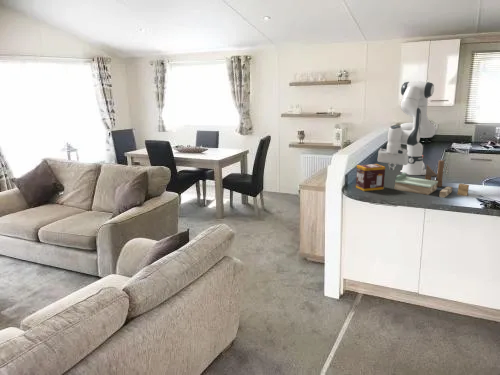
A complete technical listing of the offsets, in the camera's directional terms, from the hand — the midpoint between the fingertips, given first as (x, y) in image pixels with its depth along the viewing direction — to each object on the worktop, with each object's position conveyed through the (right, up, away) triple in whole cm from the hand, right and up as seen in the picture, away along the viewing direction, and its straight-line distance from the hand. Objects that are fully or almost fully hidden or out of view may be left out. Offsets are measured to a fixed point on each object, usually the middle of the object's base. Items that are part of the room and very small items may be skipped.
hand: (391, 169), depth 267 cm
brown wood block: (+37, -17, -20) cm, 46 cm away
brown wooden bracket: (+29, -11, +1) cm, 31 cm away
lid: (+13, -9, -9) cm, 18 cm away
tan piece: (+17, -14, -10) cm, 24 cm away
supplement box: (-16, -13, -3) cm, 21 cm away
